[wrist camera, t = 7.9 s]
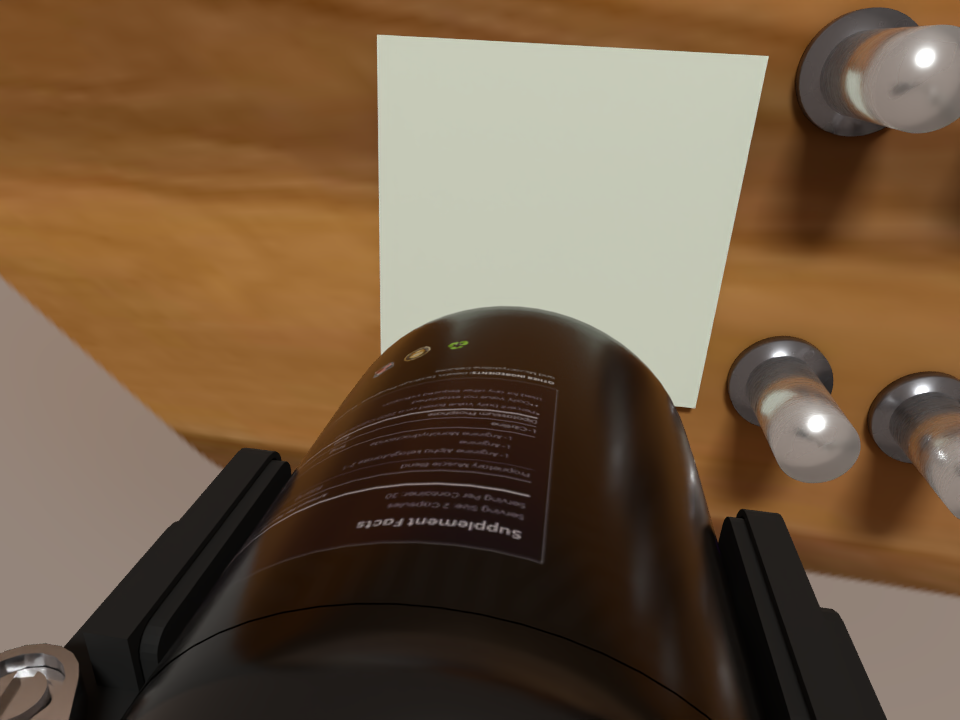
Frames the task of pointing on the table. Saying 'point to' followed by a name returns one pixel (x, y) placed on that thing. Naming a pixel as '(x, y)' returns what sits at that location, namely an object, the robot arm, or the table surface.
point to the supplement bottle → (477, 550)
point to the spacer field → (797, 363)
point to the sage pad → (563, 187)
